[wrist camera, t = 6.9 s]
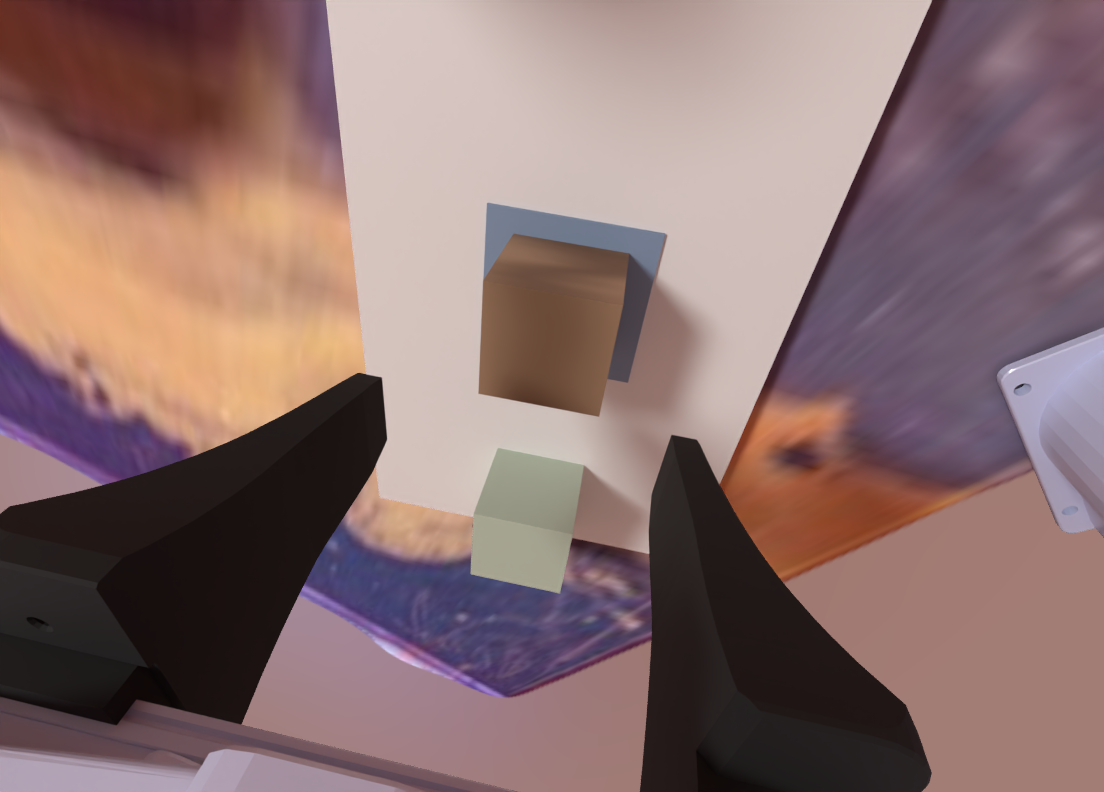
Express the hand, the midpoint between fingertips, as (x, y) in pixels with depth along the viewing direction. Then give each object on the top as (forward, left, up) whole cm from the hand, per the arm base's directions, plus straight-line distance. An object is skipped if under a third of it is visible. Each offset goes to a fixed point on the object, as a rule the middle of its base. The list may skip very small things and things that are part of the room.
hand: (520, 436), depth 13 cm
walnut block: (0, 0, -8) cm, 8 cm away
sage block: (-7, +7, -8) cm, 13 cm away
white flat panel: (0, 0, -9) cm, 9 cm away
